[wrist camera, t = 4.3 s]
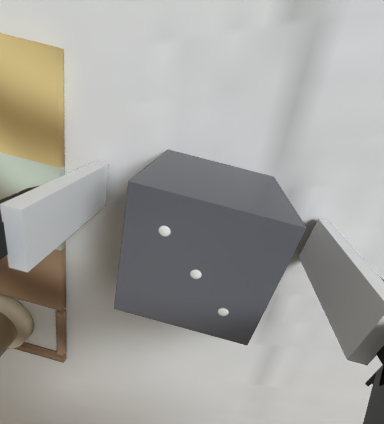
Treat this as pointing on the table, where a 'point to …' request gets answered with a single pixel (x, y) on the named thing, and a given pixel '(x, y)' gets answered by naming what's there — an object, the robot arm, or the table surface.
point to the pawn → (13, 323)
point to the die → (204, 245)
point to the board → (33, 164)
